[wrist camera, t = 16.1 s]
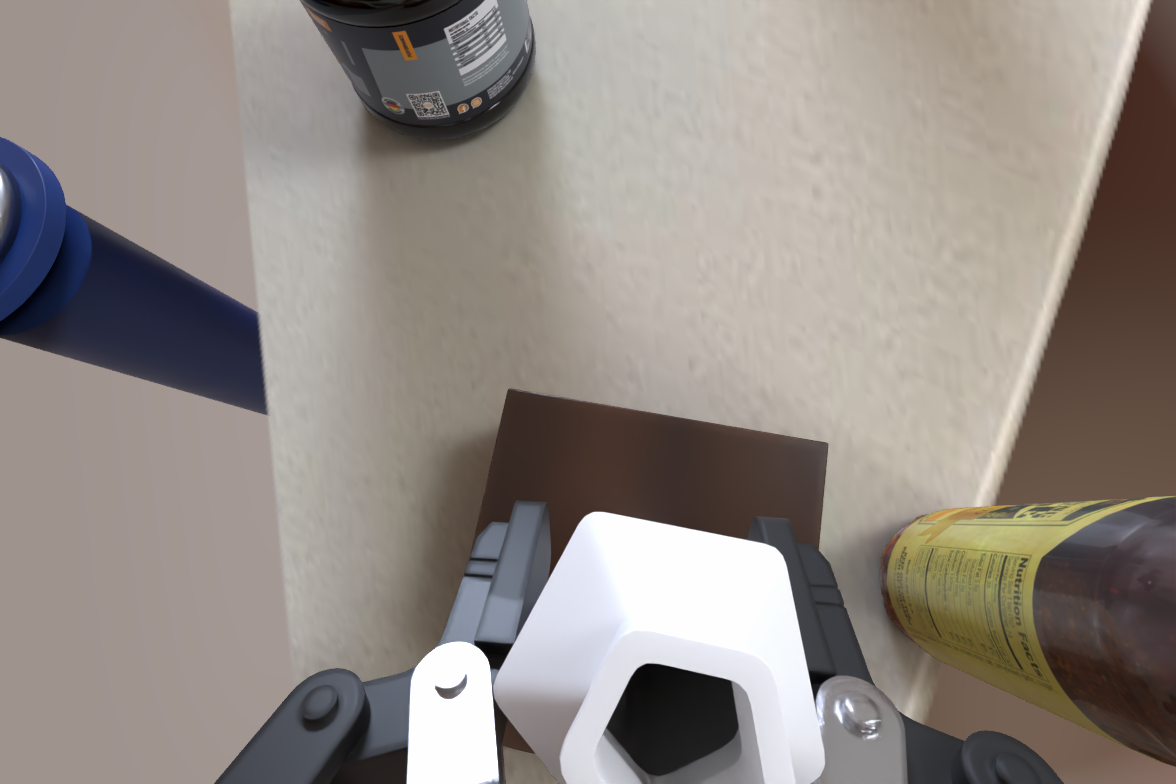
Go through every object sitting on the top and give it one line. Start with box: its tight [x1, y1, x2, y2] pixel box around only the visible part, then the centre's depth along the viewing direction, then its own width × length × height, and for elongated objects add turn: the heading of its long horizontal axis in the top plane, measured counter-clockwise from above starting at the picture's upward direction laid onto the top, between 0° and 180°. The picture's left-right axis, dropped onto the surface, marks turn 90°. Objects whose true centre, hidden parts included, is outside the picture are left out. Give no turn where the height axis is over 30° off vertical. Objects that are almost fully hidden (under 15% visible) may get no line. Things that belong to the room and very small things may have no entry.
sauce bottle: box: [880, 496, 1176, 766], centre depth 14 cm, size 7×6×20 cm
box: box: [469, 388, 828, 754], centre depth 22 cm, size 12×12×5 cm
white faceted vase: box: [493, 512, 825, 784], centre depth 12 cm, size 5×4×15 cm
